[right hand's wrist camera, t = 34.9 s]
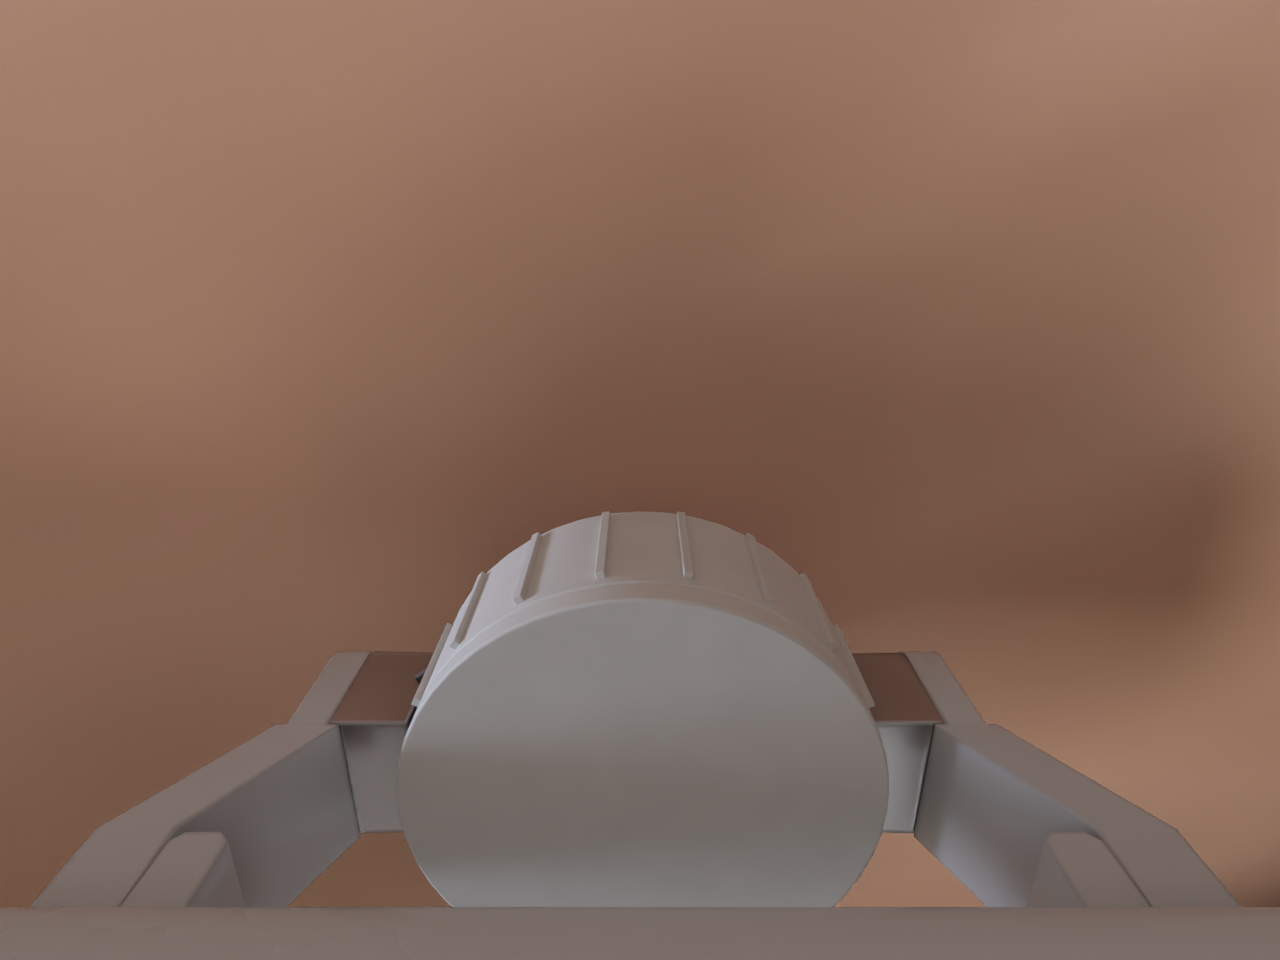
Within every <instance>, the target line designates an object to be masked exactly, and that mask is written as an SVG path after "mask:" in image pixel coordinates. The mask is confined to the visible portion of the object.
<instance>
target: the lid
mask: <svg viewBox="0 0 1280 960" xmlns="http://www.w3.org/2000/svg"><path fill="white" fill-rule="evenodd" d="M411 705H414V706H416V707H417V710H416V712H415V714H414V717H413V719H412V721H411V724H410V726H409V728H408V731H407V733H406V735H405V738H404V741H403V745H402V749H401V753H400V757H399V761H398V771H397V784H396V790H397V801H398V811H399V817H400V820H401V824H402V828H403V831H404V835H405V839H406V841H407V843H408V845H409V847H410V850H411V852H412V854H413V856H414V858H415V861H416V862H417V864H418V865H419V867H420V868H421V870H422V872H423V873H424V875H425V876H426V878H427V879H428V881H429V882H430V883H431V885H432V886H433V887H434V888H435V889H436V890H437V892H438V893H439V894H440V895H441V896H442V897H443V899H444V900H445V901H446V902H447V903H448V904H449V905H451V906H452V907H833V906H834V905H836V904H837V903H838V902H839V901H840V900H841V899H842V898H843V897H844V896H845V895H846V893H847V892H848V891H849V890H850V888H851V887H852V886H853V885H854V883H855V882H856V881H857V880H858V878H859V877H860V876H861V874H862V872H863V871H864V869H865V867H866V866H867V864H868V862H869V861H870V859H871V857H872V856H873V854H874V851H875V849H876V846H877V844H878V841H879V839H880V837H881V834H882V831H883V827H884V823H885V818H886V814H887V810H888V799H889V782H890V781H889V772H888V763H887V756H886V752H885V749H884V745H883V742H882V739H881V735H880V732H879V729H878V727H877V725H876V723H875V720H874V718H873V716H872V714H871V712H870V709H869V708H871V707H874V706H875V704H874V701H873V699H872V697H871V694H870V692H869V690H868V688H867V686H866V684H865V681H864V679H863V677H862V675H861V673H860V671H859V668H858V666H857V664H856V662H855V660H854V657H853V655H852V653H851V651H850V649H849V647H848V644H847V642H846V640H845V638H844V636H843V633H842V631H841V629H840V627H839V625H838V624H836V625H833V626H832V624H831V622H830V620H829V617H828V615H827V613H826V611H825V609H824V607H823V605H822V603H821V602H820V601H819V599H818V598H817V596H816V594H815V592H814V590H813V587H812V585H811V583H810V581H809V578H808V576H807V575H806V574H805V573H804V572H803V573H802V574H800V575H799V574H798V573H797V572H796V571H795V570H794V569H793V568H792V566H790V565H789V564H788V563H787V562H785V561H784V560H783V559H782V558H780V557H779V556H778V555H777V554H775V553H774V552H773V551H772V550H770V549H769V548H767V547H765V546H764V545H762V544H760V543H759V542H757V541H756V539H755V536H754V535H752V534H750V533H747V534H746V535H744V534H742V533H740V532H737V531H735V530H733V529H730V528H728V527H726V526H723V525H720V524H717V523H714V522H710V521H707V520H703V519H700V518H697V517H691V516H685V512H679V511H677V514H673V513H666V512H644V511H636V512H623V513H610V511H607V512H602V515H600V516H595V517H590V518H585V519H581V520H578V521H575V522H572V523H569V524H566V525H563V526H560V527H556V528H554V529H552V530H550V531H548V532H546V533H544V534H540V533H539V532H537V533H535V534H533V535H532V538H531V540H529V541H528V542H526V543H525V544H523V545H522V546H520V547H518V548H517V549H515V550H514V551H512V552H511V553H509V554H508V555H507V556H506V557H504V558H503V559H502V560H501V561H500V562H499V563H497V564H496V565H495V566H494V567H493V568H492V569H490V570H489V571H488V572H487V574H486V573H485V572H483V571H482V572H481V573H480V574H479V575H478V577H477V580H476V582H475V584H474V587H473V589H472V591H471V593H470V594H469V596H468V597H467V599H466V601H465V602H464V604H463V605H462V607H461V608H460V610H459V612H458V615H457V617H456V619H455V621H454V624H450V623H447V624H446V627H445V629H444V631H443V633H442V636H441V638H440V640H439V642H438V645H437V647H436V649H435V651H434V654H433V656H432V658H431V660H430V662H429V665H428V667H427V669H426V671H425V674H424V676H423V678H422V680H421V683H420V685H419V687H418V689H417V692H416V694H415V696H414V698H413V701H412V703H411Z"/></svg>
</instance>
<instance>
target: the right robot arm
mask: <svg viewBox="0 0 1280 960" xmlns="http://www.w3.org/2000/svg"><path fill="white" fill-rule="evenodd" d="M433 654H434V653H428V652H381V651H375V652H371V651H341V652H338V653H336V654H334V655H333V656H332V658H331V659H330V661H329V662H328V664H327V665H326V667H325V668H324V670H323V671H322V673H321V674H320V676H319V677H318V679H317V680H316V682H315V683H314V685H313V686H312V688H311V689H310V691H309V692H308V694H307V695H306V697H305V698H304V700H303V701H302V703H301V704H300V706H299V707H298V709H297V710H296V712H295V713H294V715H293V716H292V718H291V719H290V721H289V722H288V724H276V725H274V726H272V727H271V728H269V729H267V730H266V731H264V732H262V733H260V734H259V735H257V736H255V737H253V738H252V739H250V740H248V741H247V742H245V743H243V744H241V745H240V746H238V747H236V748H234V749H233V750H231V751H229V752H228V753H226V754H224V755H222V756H221V757H219V758H217V759H215V760H214V761H212V762H210V763H209V764H207V765H205V766H203V767H202V768H200V769H198V770H196V771H195V772H193V773H191V774H190V775H188V776H186V777H184V778H183V779H181V780H179V781H177V782H176V783H174V784H172V785H170V786H169V787H167V788H165V789H164V790H162V791H160V792H158V793H157V794H155V795H153V796H151V797H150V798H148V799H146V800H145V801H143V802H141V803H139V804H138V805H136V806H134V807H132V808H131V809H129V810H127V811H126V812H124V813H122V814H120V815H119V816H117V817H115V818H113V819H112V820H110V821H108V822H107V823H105V824H103V825H101V826H100V827H98V828H96V829H95V830H94V832H93V833H92V834H91V835H90V836H89V837H88V839H87V840H86V841H85V842H84V843H83V844H82V846H81V847H80V848H79V849H78V850H77V851H76V853H75V854H74V855H73V856H72V857H71V858H70V860H69V861H68V862H67V863H66V864H65V865H64V867H63V868H62V869H61V870H60V871H59V872H58V874H57V875H56V876H55V877H54V878H53V879H52V881H51V882H50V883H49V884H48V885H47V886H46V888H45V889H44V890H43V891H42V892H41V893H40V895H39V896H38V897H37V898H36V899H35V900H34V902H33V903H32V904H31V905H30V906H29V907H0V960H1280V907H1242V906H1241V905H1240V904H1239V903H1238V902H1237V900H1236V899H1235V898H1234V897H1233V896H1232V894H1231V893H1230V892H1229V891H1228V890H1227V889H1226V887H1225V886H1224V885H1223V884H1222V883H1221V881H1220V880H1219V879H1218V878H1217V877H1216V875H1215V874H1214V873H1213V872H1212V871H1211V869H1210V868H1209V867H1208V866H1207V865H1206V864H1205V862H1204V861H1203V860H1202V859H1201V858H1200V856H1199V855H1198V854H1197V853H1196V852H1195V850H1194V849H1193V848H1192V847H1191V846H1190V844H1189V843H1188V842H1187V841H1186V840H1185V838H1184V837H1183V836H1182V835H1181V834H1180V833H1179V831H1178V830H1177V829H1175V828H1173V827H1172V826H1170V825H1168V824H1167V823H1165V822H1163V821H1161V820H1160V819H1158V818H1156V817H1155V816H1153V815H1151V814H1149V813H1148V812H1146V811H1144V810H1143V809H1141V808H1139V807H1138V806H1136V805H1134V804H1132V803H1131V802H1129V801H1127V800H1126V799H1124V798H1122V797H1120V796H1119V795H1117V794H1115V793H1114V792H1112V791H1110V790H1108V789H1107V788H1105V787H1103V786H1102V785H1100V784H1098V783H1097V782H1095V781H1093V780H1091V779H1090V778H1088V777H1086V776H1085V775H1083V774H1081V773H1079V772H1078V771H1076V770H1074V769H1073V768H1071V767H1069V766H1067V765H1066V764H1064V763H1062V762H1061V761H1059V760H1057V759H1056V758H1054V757H1052V756H1050V755H1049V754H1047V753H1045V752H1044V751H1042V750H1040V749H1038V748H1037V747H1035V746H1033V745H1032V744H1030V743H1028V742H1026V741H1025V740H1023V739H1021V738H1020V737H1018V736H1016V735H1015V734H1013V733H1011V732H1009V731H1008V730H1006V729H1004V728H1003V727H1001V726H999V725H997V724H986V723H985V721H984V720H983V718H982V717H981V715H980V714H979V712H978V711H977V709H976V708H975V706H974V705H973V703H972V702H971V700H970V699H969V697H968V696H967V694H966V693H965V691H964V690H963V688H962V687H961V685H960V684H959V682H958V681H957V679H956V678H955V676H954V675H953V673H952V672H951V670H950V669H949V667H948V666H947V664H946V663H945V661H944V660H943V658H942V657H941V655H940V654H939V653H937V652H935V651H912V652H900V653H852V655H853V657H854V660H855V662H856V664H857V666H858V668H859V671H860V673H861V675H862V677H863V679H864V681H865V684H866V686H867V688H868V690H869V692H870V694H871V697H872V699H873V701H874V704H875V706H874V707H871V708H869V709H870V712H871V714H872V716H873V718H874V720H875V723H876V725H877V727H878V729H879V732H880V735H881V739H882V742H883V745H884V749H885V752H886V756H887V763H888V772H889V781H890V782H889V799H888V810H887V814H886V818H885V823H884V827H883V831H882V832H889V833H914V837H915V838H916V839H917V840H918V841H919V842H920V843H921V844H922V845H923V846H924V847H926V848H927V849H928V850H929V851H930V852H931V853H932V854H933V855H934V856H935V857H936V858H937V859H938V860H939V861H940V862H941V863H942V864H943V865H944V866H945V867H946V868H947V869H948V870H949V871H950V872H951V873H952V874H953V875H954V876H955V877H956V878H957V879H959V880H960V881H961V882H962V883H963V884H964V885H965V886H966V887H967V888H968V889H969V890H970V891H971V892H972V893H973V894H974V895H975V896H976V897H977V898H978V899H979V900H980V901H981V902H982V903H983V904H984V905H985V906H986V907H287V906H288V905H289V904H290V903H291V902H292V901H293V900H294V899H295V898H296V897H298V896H299V895H300V894H301V893H302V892H303V891H304V890H305V889H306V888H307V887H308V886H309V885H310V884H311V883H312V882H313V881H314V880H315V879H316V878H317V877H318V876H319V875H320V874H322V873H323V872H324V871H325V870H326V869H327V868H328V867H329V866H330V865H331V864H332V863H333V862H334V861H335V860H336V859H337V858H338V857H339V856H340V855H341V854H342V853H343V852H344V851H345V850H347V849H348V848H349V847H350V846H351V845H352V844H353V843H354V842H355V841H356V840H357V839H358V838H359V837H360V835H359V833H384V832H404V831H403V828H402V824H401V820H400V817H399V811H398V801H397V790H396V784H397V771H398V761H399V757H400V753H401V749H402V745H403V741H404V738H405V735H406V733H407V731H408V728H409V726H410V724H411V721H412V719H413V717H414V714H415V712H416V710H417V707H416V706H414V705H411V703H412V701H413V698H414V696H415V694H416V692H417V689H418V687H419V685H420V683H421V680H422V678H423V676H424V674H425V671H426V669H427V667H428V665H429V662H430V660H431V658H432V656H433Z"/></svg>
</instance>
